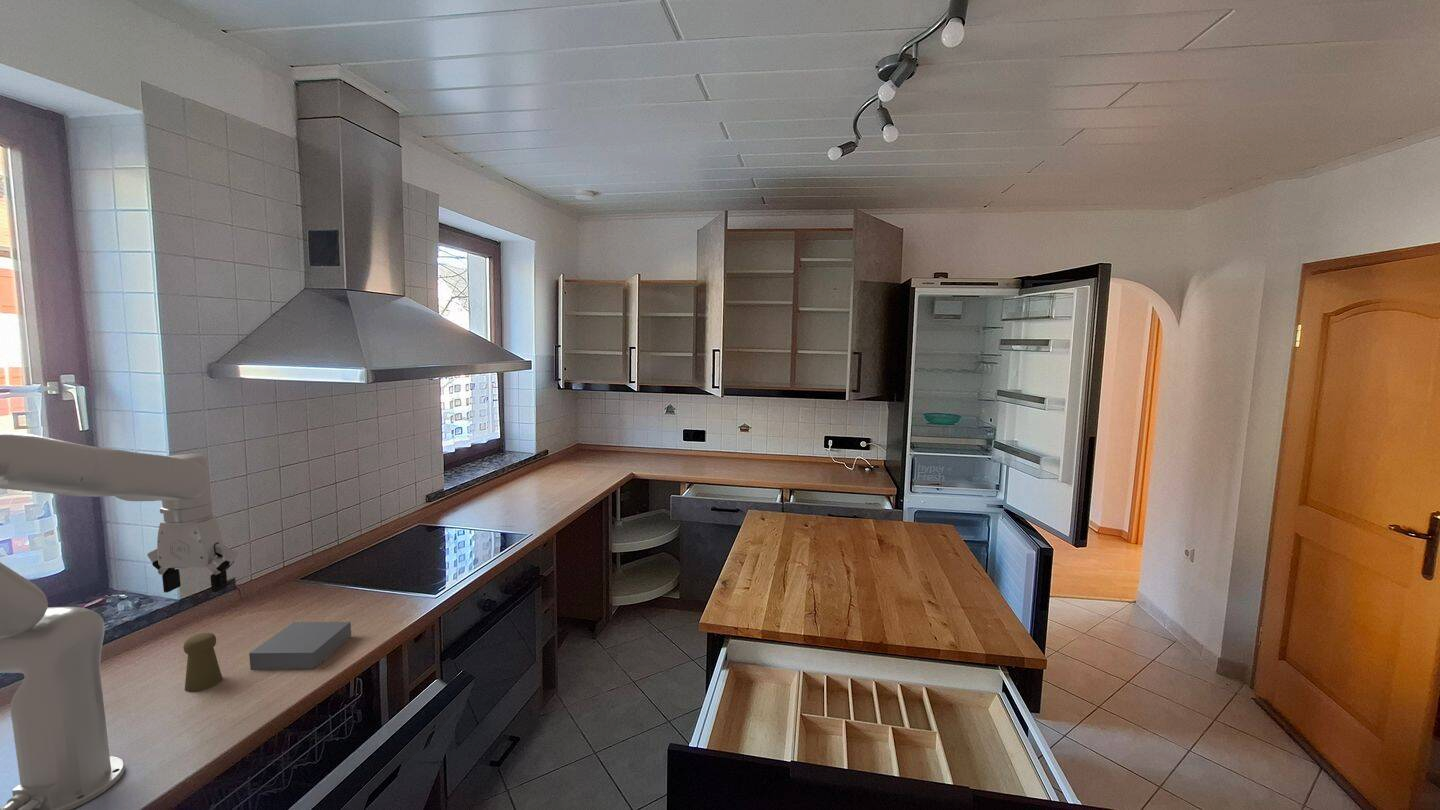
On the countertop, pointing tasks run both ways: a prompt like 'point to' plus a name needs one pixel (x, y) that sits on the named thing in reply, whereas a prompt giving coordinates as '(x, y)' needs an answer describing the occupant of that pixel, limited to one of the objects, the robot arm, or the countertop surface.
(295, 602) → the countertop surface
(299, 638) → the base block
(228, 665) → the countertop surface
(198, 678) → the cork
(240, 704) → the countertop surface
